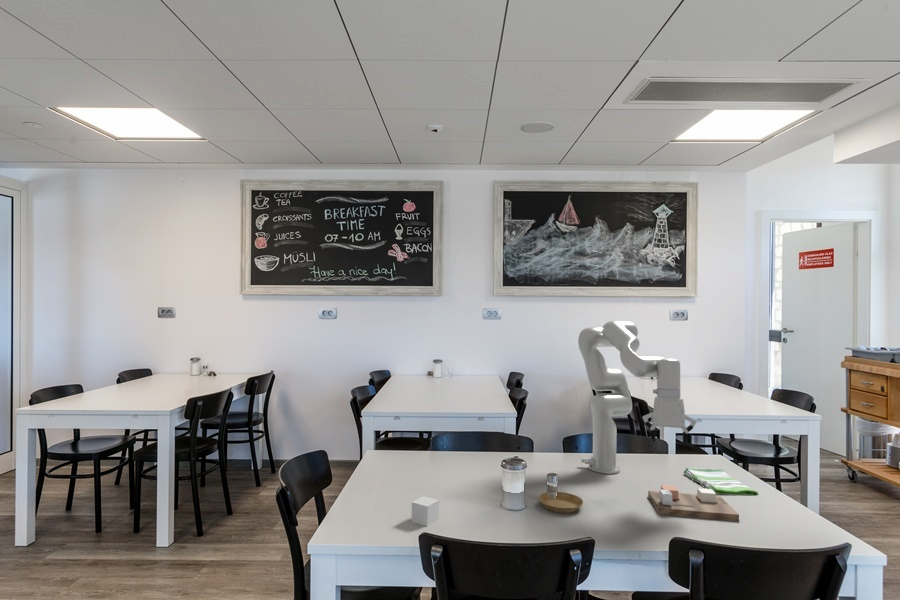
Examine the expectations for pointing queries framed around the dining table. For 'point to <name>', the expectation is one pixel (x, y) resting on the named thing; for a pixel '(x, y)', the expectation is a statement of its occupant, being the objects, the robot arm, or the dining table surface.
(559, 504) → the plant saucer
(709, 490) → the cream button
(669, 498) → the slider knob
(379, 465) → the dining table surface
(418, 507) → the white cube
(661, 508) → the switch board
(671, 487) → the terracotta button
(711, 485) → the dish towel
